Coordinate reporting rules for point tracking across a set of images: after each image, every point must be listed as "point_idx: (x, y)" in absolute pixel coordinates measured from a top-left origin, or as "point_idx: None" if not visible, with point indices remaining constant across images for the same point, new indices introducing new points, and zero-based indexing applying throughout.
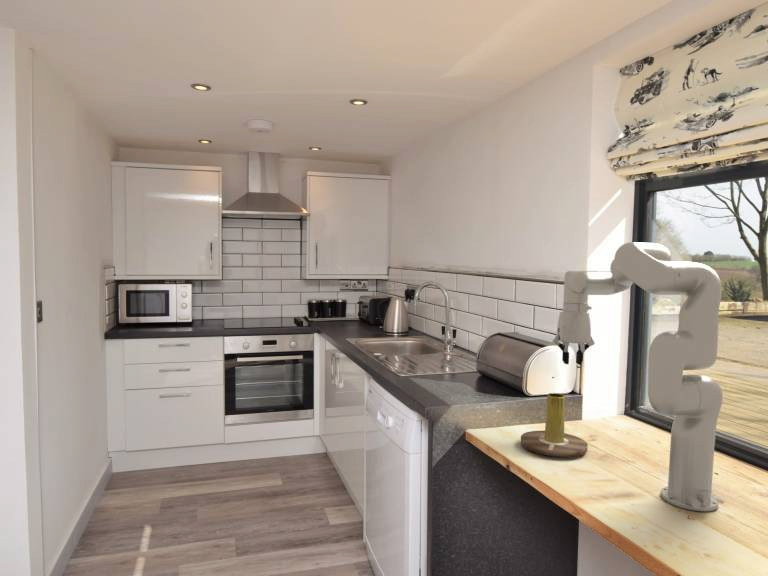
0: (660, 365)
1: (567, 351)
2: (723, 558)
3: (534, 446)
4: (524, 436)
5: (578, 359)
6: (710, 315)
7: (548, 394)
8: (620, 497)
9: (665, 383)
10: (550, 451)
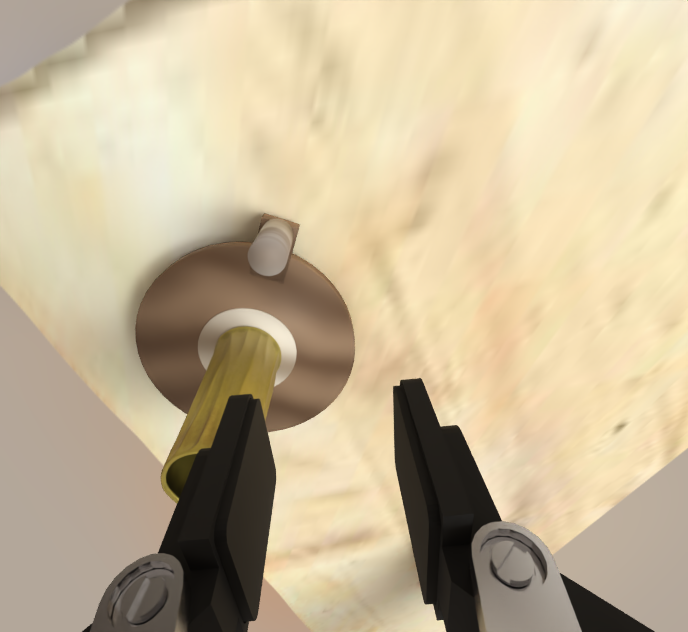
0: None
1: (228, 629)
2: None
3: (183, 409)
4: (148, 329)
5: (404, 488)
6: None
7: (165, 476)
8: (342, 547)
9: None
10: None
